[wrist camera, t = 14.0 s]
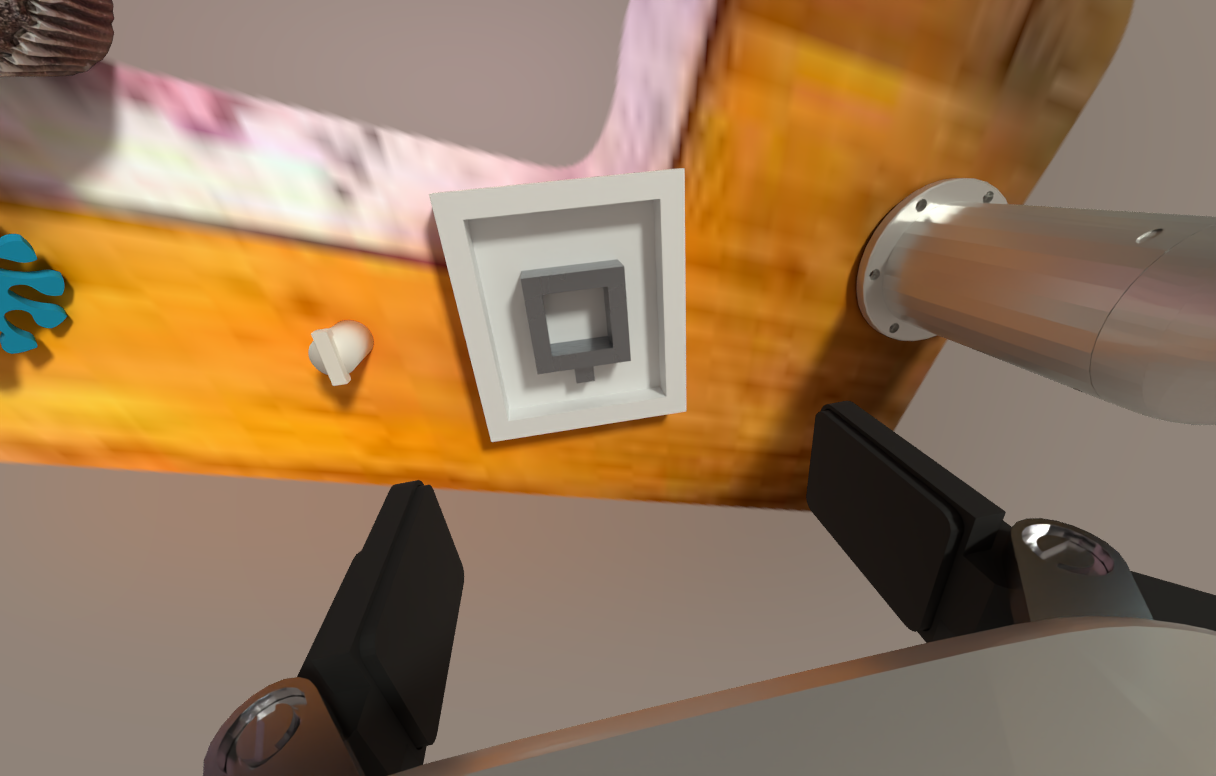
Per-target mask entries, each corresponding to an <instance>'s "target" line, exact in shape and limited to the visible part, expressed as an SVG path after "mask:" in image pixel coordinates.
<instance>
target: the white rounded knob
mask: <svg viewBox="0 0 1216 776" xmlns="http://www.w3.org/2000/svg"><path fill="white" fill-rule="evenodd" d="M311 335H312V337H313V340H314V341H313V342H312V343H311V345H310V347H309V358H310V360H311V362H312V364H313V365H314V366H315V367H316V368H317V369H318V370H319V371H321V372H322V373H324V374H327V375H329V378H330V380H331V382H332V385H333V386H336V385H343V384H348V383H349V381H350V380H351V377H350V375H349V373H350V372H352V371H353V370H354V369H355V367H356V366H357V365H358V364H359V363H360V362H361V361H362V360H363V359H364V358H365V357H366V356H367V354H368V353H369V352H370V351H371V350H372V348H373V345H374V339H373V336H372V334H371V332H370V330H369V329H368V328H367V327H366V326H364V325H363V324H361V323H359V322H357V321H353V320H344V321H340V322H338V323H337V324H335V325H334V326H333V327H331V328H329V329H321V330H316V331H314V332H313V333H311Z"/></svg>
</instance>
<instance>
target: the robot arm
mask: <svg viewBox="0 0 1216 776" xmlns="http://www.w3.org/2000/svg"><path fill="white" fill-rule="evenodd" d="M856 292H857V299H858V305H859V307H860V310H861V312H862V315H863V317H864V318H865V319H866V321H867V322H868V324H869V325H870V326H871V327H873V328H874V329H875V330H876V331H878V332H879V333H882V334H884V335H886V336H888V337H890V338H894V339H897V340H900V341H917V340H924V339H928V338H931V337H934V336H937V335H939V336H941V337H944V338H946V339H949V340H952V341H954V342H956V343H959V344H961V345H964V346H967V347H969V348H972V349H974V350H977V351H979V352H982V353H984V354H987V355H989V356H992V357H995V358H997V359H1000V360H1002V361H1005V362H1007V363H1010V364H1012V365H1015V366H1017V367H1020V368H1022V369H1025V370H1028V371H1030V372H1033V373H1035V374H1038V375H1040V376H1043V377H1045V378H1048V379H1050V380H1053V381H1056V382H1058V383H1061V384H1063V385H1066V386H1068V387H1071V388H1073V389H1076V390H1078V391H1081V392H1084V393H1086V394H1089V395H1091V396H1094V397H1096V398H1099V399H1101V400H1104V401H1107V402H1109V403H1112V404H1115V405H1117V406H1120V407H1123V408H1125V409H1128V410H1130V411H1133V412H1136V413H1139V414H1142V415H1145V416H1148V417H1151V418H1155V419H1160V420H1164V421H1169V422H1175V423H1184V424H1191V425H1216V217H1212V216H1195V215H1194V216H1193V215H1178V214H1162V213H1145V212H1128V211H1112V210H1096V209H1078V208H1062V207H1045V206H1028V205H1012V204H1008V203H1007V201H1006V199H1005V197H1004V196H1003V195H1002V194H1001V193H1000V191H999V190H998V189H997V188H995V187H994V186H992V185H990V184H989V183H987V182H984V181H981V180H977V179H971V178H954V179H944V180H940V181H937V182H934V183H931V184H928V185H926V186H924V187H922V188H921V189H919V190H917V191H915V192H913V193H912V194H910V195H909V196H908V197H906V198H905V199H904V200H902V201H901V202H900V203H899V204H898V205H897V206H896V207H895V208H894V209H893V210H892V211H891V212H890V213H889V214H888V215H887V216H886V217H885V218H884V219H883V221H882V222H881V223H880V225H879V226H878V227H877V229H876V230H875V232H874V233H873V235H872V237H871V239H870V241H869V242H868V244H867V246H866V248H865V251H864V254H863V256H862V259H861V262H860V266H859V270H858V275H857V290H856ZM806 498H807V503H808V506H809V508H810V510H811V511H812V512H813V514H814V515H815V516H816V517H817V518H818V520H819V521H820V522H821V523H822V525H823V526H824V527H825V528H826V529H827V531H828V532H829V533H830V534H831V535H832V536H833V538H834V539H835V540H836V542H838V544H839V545H840V546H841V548H842V549H843V550H844V551H845V553H846V554H847V555H848V556H849V557H850V559H851V560H852V561H853V562H854V563H855V565H856V566H857V567H858V568H859V570H860V571H861V572H862V573H863V574H864V576H865V577H866V578H867V579H868V581H869V582H870V583H871V584H872V585H873V587H874V588H875V589H876V590H877V592H878V593H879V594H880V595H881V596H882V598H883V599H884V600H885V601H886V602H887V604H888V605H889V606H890V607H891V608H892V610H893V611H894V612H895V613H896V615H897V616H898V617H899V618H900V620H901V621H902V622H903V623H904V624H905V625H906V626H907V627H908V628H909V629H910V630H912V631H915V632H916V631H917V632H918V633H919V634H920V635H921V637H922V638H923V639H924V640H925V641H926V643H925V644H921V645H916V646H912V647H908V648H904V649H899V650H895V651H890V652H886V653H882V654H877V655H873V656H868V657H864V658H860V659H856V660H851V661H847V662H842V663H838V664H834V665H830V666H825V667H821V668H817V669H812V670H808V671H804V672H800V673H795V674H791V675H787V676H782V677H778V678H774V679H770V680H766V681H761V682H757V683H753V684H748V685H744V686H740V687H736V688H731V689H727V690H723V691H719V692H715V693H711V694H706V695H702V696H698V697H693V698H689V699H685V700H681V701H677V702H673V703H668V704H664V705H660V706H656V707H651V708H647V709H643V710H639V711H635V712H631V713H627V714H623V715H618V716H615V717H610V718H606V719H602V720H598V721H594V722H590V723H585V724H581V725H577V726H573V727H569V728H565V729H560V730H556V731H552V732H548V733H544V734H540V735H536V736H532V737H527V738H523V739H519V740H515V741H511V742H508V743H504V744H500V745H496V746H492V747H489V748H485V749H481V750H477V751H474V752H470V753H466V754H462V755H458V756H454V757H451V758H447V759H443V760H439V761H435V762H431V763H428V764H424V765H423V762H424V757H425V751H426V746H428V745H432V744H433V743H434V741H435V739H436V736H437V731H438V725H439V719H440V714H441V708H442V703H443V697H444V692H445V686H446V680H447V674H448V669H449V663H450V658H451V652H452V646H453V641H454V635H455V629H456V624H457V618H458V612H459V606H460V601H461V596H462V590H463V584H464V570H463V566H462V563H461V560H460V558H459V555H458V552H457V550H456V547H455V545H454V542H453V539H452V538H451V534H450V532H449V529H448V527H447V524H446V521H445V519H444V516H443V514H442V511H441V508H440V506H439V503H438V501H437V498H436V496H435V493H434V490H433V488H432V486H431V485H424V484H423V483H422V481H420V480H417V481H411V482H406V483H400V484H395V485H393V486H392V487H391V489H390V491H389V493H388V495H387V497H386V499H385V502H384V504H383V506H382V508H381V510H380V512H379V514H378V516H377V519H376V521H375V523H374V525H373V527H372V530H371V532H370V534H369V536H368V538H367V540H366V543H365V544H364V547H363V549H362V551H360V552H359V553H358V554H356V556H355V557H354V559H353V561H352V563H351V565H350V567H349V569H348V571H347V573H346V575H345V578H344V579H343V582H342V584H341V586H340V588H339V590H338V592H337V594H336V596H335V598H334V600H333V603H332V605H331V607H330V609H329V611H328V613H327V615H326V618H325V619H324V622H323V624H322V626H321V628H320V630H319V632H318V634H317V636H316V638H315V641H314V643H313V645H312V647H311V649H310V651H309V653H308V655H307V657H306V659H305V661H304V664H303V666H302V668H301V670H300V672H299V674H298V676H297V677H295V678H287V679H283V680H281V681H278V682H276V683H273V684H271V685H268V686H267V687H265V688H264V689H262V690H260V691H259V692H257V693H256V694H254V695H253V696H251V697H250V698H249V699H248V700H247V701H245V702H244V703H243V704H242V705H241V706H239V707H238V708H237V709H236V710H235V711H234V712H233V713H232V714H231V716H230V717H229V718H228V719H227V720H226V721H225V722H224V724H223V725H222V726H221V727H220V729H219V730H218V732H217V734H216V735H215V737H214V738H213V740H212V741H211V743H210V746H209V748H208V751H207V753H206V756H205V758H204V767H203V776H1216V595H1213V594H1209V593H1206V592H1202V591H1198V590H1195V589H1191V588H1188V587H1185V586H1181V585H1178V584H1174V583H1171V582H1167V581H1163V580H1160V579H1157V578H1154V577H1150V576H1147V575H1143V574H1139V573H1136V572H1132V571H1130V569H1129V567H1128V565H1127V563H1126V562H1125V560H1124V559H1123V558H1122V556H1121V555H1120V554H1119V552H1117V551H1116V550H1115V549H1114V548H1113V547H1111V546H1110V545H1109V544H1108V543H1107V542H1105V541H1103V540H1101V539H1100V538H1098V537H1096V536H1095V535H1093V534H1091V533H1089V532H1087V531H1085V530H1082V529H1080V528H1078V527H1075V526H1073V525H1069V524H1066V523H1063V522H1059V521H1055V520H1049V519H1042V518H1030V519H1024V520H1021V521H1018V522H1016V523H1015V524H1014V525H1013V526H1012V527H1011V526H1010V525H1008V524H1007V523H1006V522H1004V521H1003V518H1004V515H1005V511H1004V510H1002V509H1001V508H1000V507H998V506H997V505H995V504H994V503H993V502H991V501H989V500H988V499H987V498H986V497H984V496H983V495H981V494H980V493H979V492H977V491H976V490H974V489H973V488H972V487H970V486H969V485H967V484H966V483H965V482H963V481H962V480H960V479H959V478H958V477H956V476H955V475H953V474H952V473H951V472H949V471H948V470H947V469H945V468H944V467H942V466H941V465H939V464H938V463H937V462H935V461H934V460H933V459H931V458H930V457H928V456H927V455H926V454H924V453H923V452H921V451H920V450H918V449H917V448H916V447H914V446H913V445H912V444H910V443H909V442H907V441H906V440H905V439H903V438H902V437H900V436H899V435H898V434H896V433H895V432H893V431H892V430H891V429H889V428H888V427H886V426H885V425H884V424H882V423H881V422H879V421H878V420H877V419H875V418H874V417H872V416H871V415H870V414H868V413H867V412H865V411H864V410H863V409H861V408H860V407H858V406H857V405H856V404H854V403H853V402H851V401H843V402H838V403H832V404H827V405H824V406H823V407H822V409H821V412H818V413H817V414H816V418H815V426H814V434H813V443H812V451H811V460H810V469H809V477H808V486H807V495H806Z"/></svg>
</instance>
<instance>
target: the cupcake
mask: <svg viewBox="0 0 1216 776" xmlns="http://www.w3.org/2000/svg"><path fill="white" fill-rule="evenodd" d="M113 20H114V15H113V2H112V0H0V77H9V76H27V77H30V76H69V75H75V74H77V73H80V72H87V71H88V70H89V69H90V68H91V67H92V66H93V65H94V64H95V63H97V62H99V61H101V60H103V58H104V57H105V56H106V54H107V53H108V51H109V48H110V46H111V44H112V41H113V35H114V31H113V28H112V22H113Z"/></svg>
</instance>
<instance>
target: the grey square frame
mask: <svg viewBox="0 0 1216 776" xmlns="http://www.w3.org/2000/svg"><path fill="white" fill-rule="evenodd" d="M521 285H522V290H523V296H524V301H525V307H526V313H527V318H528V324H529V329H530V335H531V340H532V346H533V352H534V357H535V363H536V368H537V374H544V373H551V372H558V371H565V370H572V369H574V370H575V377H576V383H584V382H590V381H595V376H594V367H593V366H599V365H606V364H613V363H620V362H627V361H631V354H630V340H629V326H628V312H627V297H626V283H625V269H624V265H623V264H622V263H621V262H620V261H619V260H618V259H616V260H608V261H599V262H591V263H583V264H575V265H566V266H558V267H550V268H542V269H533V270H525V271H521ZM600 287H603V290H604V301H605V312H606V322H607V333H608V336H603V337H596V338H589V339H582V340H575V341H567V342H560V343H553V344H550V337H549V331H548V325H547V318H546V312H545V306H544V300H543V295H545V294H553V293H561V292H569V291H577V290H585V289H592V288H600Z"/></svg>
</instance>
